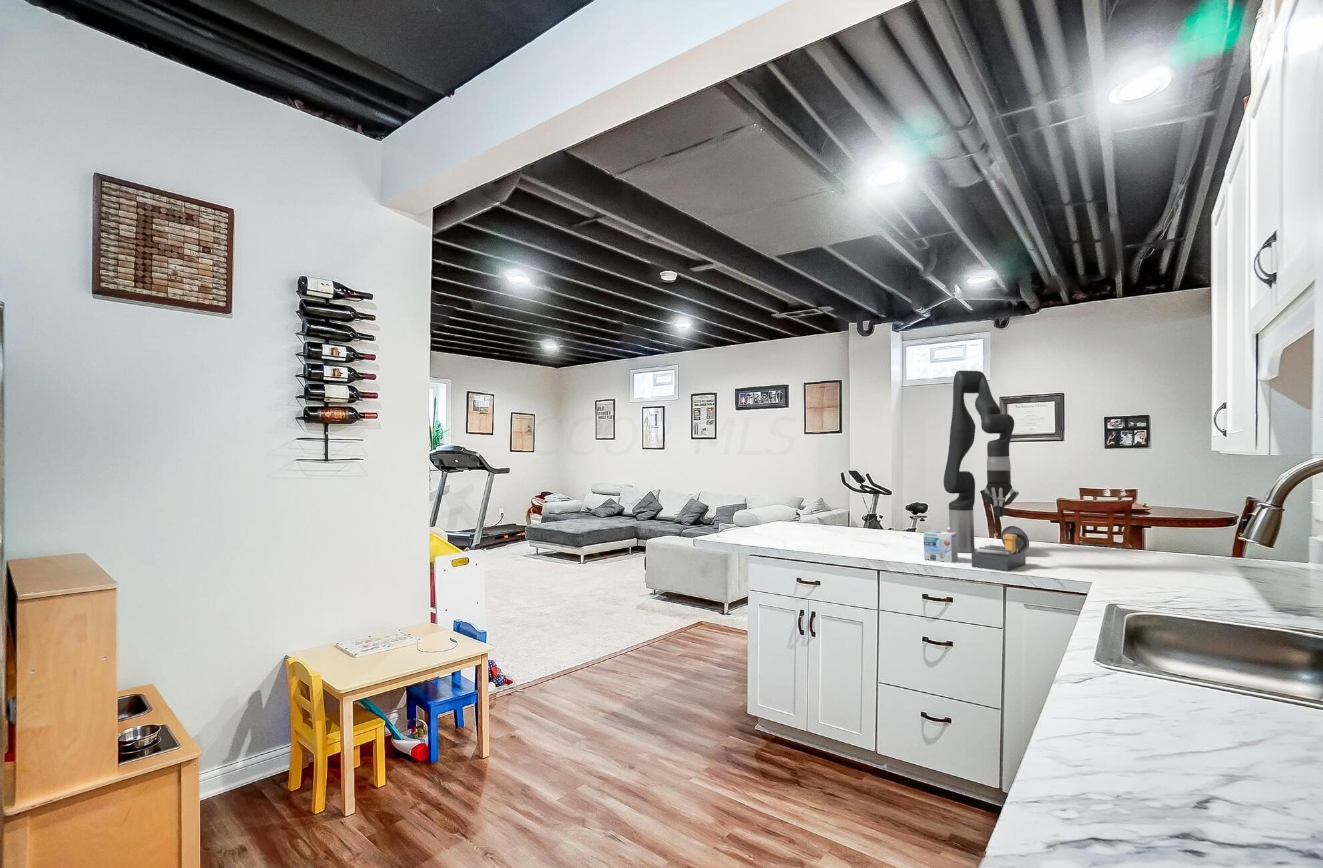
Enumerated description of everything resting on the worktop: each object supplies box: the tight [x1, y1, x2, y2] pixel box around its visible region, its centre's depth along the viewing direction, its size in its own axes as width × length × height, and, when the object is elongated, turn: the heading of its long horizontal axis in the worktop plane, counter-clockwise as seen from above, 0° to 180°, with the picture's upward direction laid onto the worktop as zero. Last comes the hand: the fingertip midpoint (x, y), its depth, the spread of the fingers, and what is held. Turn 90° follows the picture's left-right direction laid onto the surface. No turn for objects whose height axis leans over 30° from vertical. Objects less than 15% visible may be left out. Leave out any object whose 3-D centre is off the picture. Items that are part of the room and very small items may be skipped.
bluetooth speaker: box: [1000, 525, 1030, 552], centre depth 250 cm, size 23×9×10 cm, turn 154°
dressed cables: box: [976, 544, 1021, 556], centre depth 222 cm, size 11×12×1 cm
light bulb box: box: [923, 530, 959, 564], centre depth 235 cm, size 11×7×11 cm, turn 47°
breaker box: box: [970, 545, 1027, 572], centre depth 222 cm, size 12×17×6 cm
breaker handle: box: [1003, 534, 1017, 553], centre depth 219 cm, size 3×4×6 cm
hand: (999, 516), depth 222 cm, fingers closed
